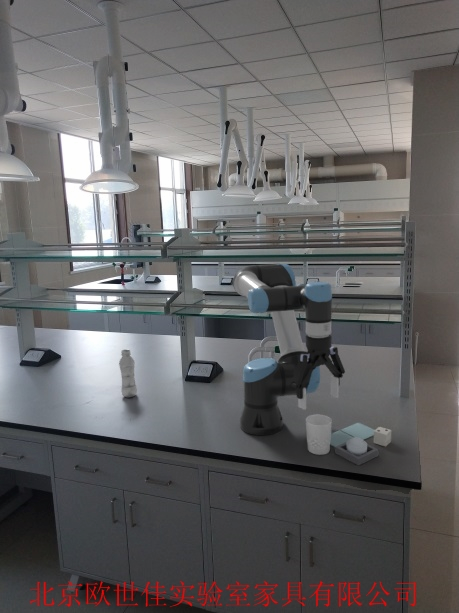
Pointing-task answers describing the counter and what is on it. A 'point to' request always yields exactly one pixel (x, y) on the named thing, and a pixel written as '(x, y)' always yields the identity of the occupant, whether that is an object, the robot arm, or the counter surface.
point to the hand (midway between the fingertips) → (318, 402)
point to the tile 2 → (359, 431)
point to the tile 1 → (339, 438)
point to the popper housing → (358, 460)
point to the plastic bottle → (127, 374)
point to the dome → (357, 446)
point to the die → (382, 436)
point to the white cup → (318, 433)
